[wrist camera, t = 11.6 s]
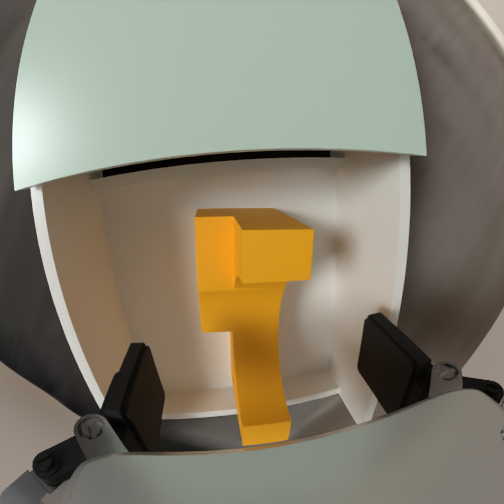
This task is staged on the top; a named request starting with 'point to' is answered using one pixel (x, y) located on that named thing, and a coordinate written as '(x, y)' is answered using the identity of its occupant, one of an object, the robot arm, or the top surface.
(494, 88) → the top surface
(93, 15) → the lid
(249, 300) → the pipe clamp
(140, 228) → the housing
